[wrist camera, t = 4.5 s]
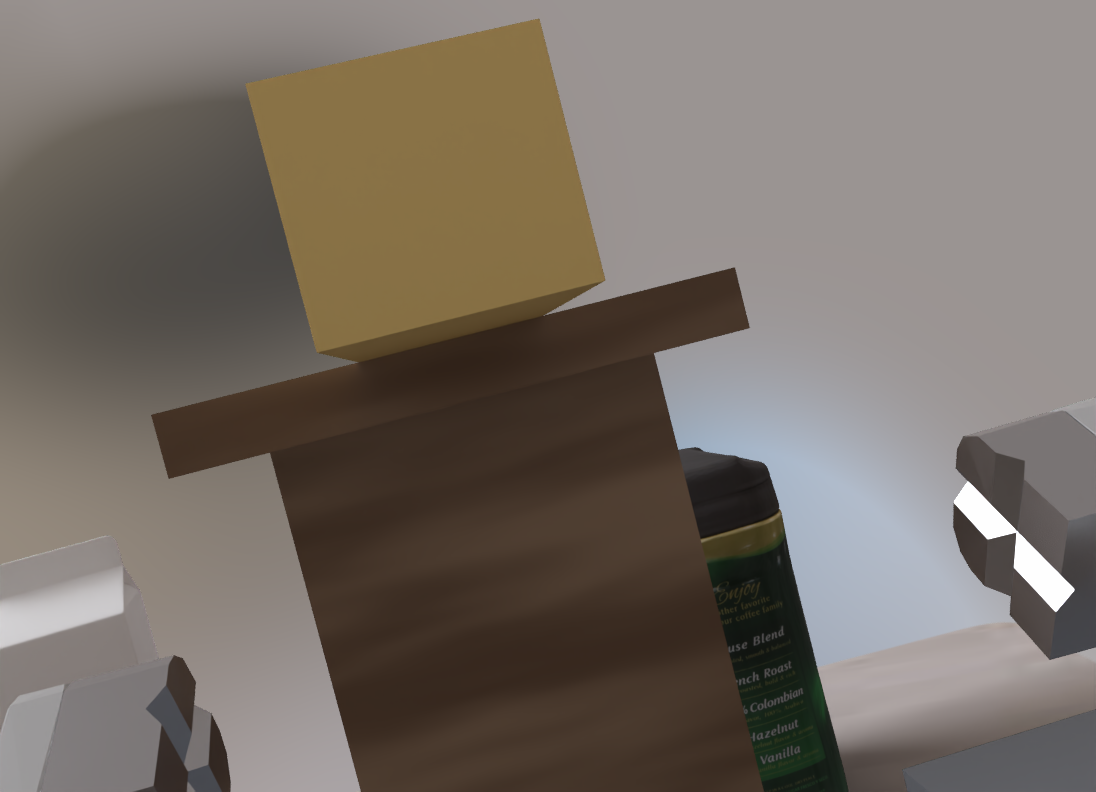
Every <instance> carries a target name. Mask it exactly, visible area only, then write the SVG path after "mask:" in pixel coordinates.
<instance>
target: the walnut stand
mask: <svg viewBox="0 0 1096 792" xmlns="http://www.w3.org/2000/svg"><path fill="white" fill-rule="evenodd" d="M748 328H749V323H748V319H747V315H746V311H745V307H744V303H743V299H742V295H741V291H740V287H739V283H738V278H737V274H736V270H735V268H731V269H727V270H723V271H719V272H715V273H711V274H707V275H703V276H699V277H695V278H691V279H687V280H683V281H679V282H675V283H671V284H667V285H663V286H659V287H655V288H651V289H648V290H644V291H640V292H636V293H632V294H628V295H624V296H620V297H616V298H612V299H608V300H604V301H600V302H596V303H592V304H588V305H584V306H580V307H576V308H572V309H569V310H564V311H560V312H556V313H552V314H549V315H545V316H541V317H537V318H533V319H529V320H525V321H521V322H517V323H513V324H509V325H505V326H501V327H497V328H493V329H489V330H485V331H481V332H477V333H473V334H469V335H465V336H462V337H458V338H454V339H450V340H446V341H442V342H438V343H434V344H430V345H426V346H422V347H418V348H414V349H410V350H406V351H402V352H398V353H394V354H390V355H386V356H382V357H378V358H374V359H370V360H367V361H363V362H359V363H355V364H351V365H347V366H343V367H339V368H335V369H331V370H327V371H323V372H319V373H315V374H311V375H307V376H303V377H299V378H296V379H291V380H287V381H284V382H280V383H276V384H271V385H268V386H264V387H260V388H256V389H252V390H248V391H244V392H240V393H236V394H232V395H228V396H224V397H220V398H216V399H212V400H208V401H204V402H200V403H196V404H192V405H188V406H185V407H181V408H177V409H173V410H169V411H165V412H161V413H157V414H153V415H151V416H152V419H153V423H154V427H155V430H156V434H157V438H158V441H159V445H160V449H161V452H162V455H163V460H164V463H165V467H166V471H167V474H168V478H169V479H170V478H174V477H177V476H181V475H185V474H189V473H193V472H197V471H200V470H204V469H208V468H212V467H216V466H219V465H224V464H227V463H231V462H235V461H239V460H243V459H247V458H250V457H254V456H258V455H262V454H266V453H270V454H271V458H272V462H273V466H274V469H275V473H276V477H277V480H278V484H279V488H280V491H281V495H282V499H283V503H284V506H285V510H286V514H287V517H288V521H289V525H290V529H291V533H292V536H293V540H294V544H295V547H296V551H297V555H298V559H299V562H300V566H301V570H302V574H303V577H304V581H305V584H306V588H307V592H308V596H309V600H310V603H311V607H312V611H313V614H314V618H315V621H316V625H317V629H318V633H319V637H320V640H321V644H322V648H323V652H324V655H325V659H326V663H327V666H328V670H329V674H330V678H331V681H332V685H333V689H334V693H335V696H336V700H337V704H338V707H339V711H340V715H341V718H342V722H343V726H344V730H345V734H346V737H347V741H348V745H349V748H350V752H351V756H352V759H353V763H354V767H355V771H356V774H357V778H358V782H359V786H360V789H361V792H764V790H763V786H762V782H761V778H760V774H759V770H758V766H757V762H756V758H755V754H754V750H753V746H752V742H751V738H750V734H749V730H748V726H747V722H746V718H745V714H744V710H743V706H742V702H741V698H740V694H739V690H738V686H737V682H736V678H735V674H734V670H733V666H732V662H731V658H730V654H729V650H728V647H727V643H726V639H725V635H724V631H723V627H722V623H721V619H720V615H719V611H718V607H717V603H716V599H715V595H714V591H713V587H712V583H711V579H710V575H709V571H708V567H707V563H706V559H705V555H704V551H703V547H702V543H701V539H700V535H699V531H698V527H697V523H696V519H695V515H694V511H693V507H692V503H691V499H690V495H689V491H688V487H687V483H686V479H685V475H684V471H683V467H682V463H681V459H680V455H679V451H678V447H677V443H676V440H675V436H674V432H673V428H672V424H671V420H670V416H669V412H668V408H667V404H666V400H665V396H664V392H663V388H662V384H661V380H660V376H659V372H658V368H657V364H656V360H655V356H654V353H655V352H659V351H663V350H667V349H671V348H675V347H679V346H682V345H686V344H690V343H694V342H698V341H702V340H706V339H709V338H713V337H717V336H721V335H725V334H729V333H733V332H736V331H740V330H744V329H748Z"/></svg>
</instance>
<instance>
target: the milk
mask: <svg viewBox="0 0 1096 792" xmlns="http://www.w3.org/2000/svg"><path fill="white" fill-rule="evenodd" d="M158 659H159V656H158V653H157V649H156V646H155V642H154V638H153V635H152V631H151V627H150V624H149V620H148V617H147V613H146V610H145V606H144V602H143V598H142V595H141V592H140V589H139V588H138V586H137V585H136V584H135V582H134V580H133V579H132V577H131V576H130V574H129V573H128V571H127V570H126V568H125V567H124V565H123V562H122V558H121V555H120V551H119V547H118V544H117V541H116V539H115V538H114V537H112V536H103V537H99V538H96V539H92V540H88V541H85V542H81V543H78V544H74V545H70V546H67V547H63V548H59V549H56V550H53V551H48V552H45V553H41V554H37V555H34V556H30V557H26V558H23V559H19V560H15V561H12V562H8V563H5V564H1V565H0V733H1V730H2V726H3V723H4V720H5V716H6V713H7V710H8V708H9V706H10V705H11V704H12V703H13V702H14V701H15V700H16V698H17V697H18V696H20V695H24V694H28V693H32V692H36V691H40V690H43V689H47V688H51V687H55V686H59V685H63V684H68V683H71V682H72V681H75V680H79V679H83V678H87V677H91V676H95V675H99V674H103V673H107V672H110V671H114V670H118V669H122V668H126V667H130V666H134V665H138V664H142V663H146V662H150V661H154V660H158Z"/></svg>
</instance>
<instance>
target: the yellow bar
mask: <svg viewBox="0 0 1096 792" xmlns="http://www.w3.org/2000/svg"><path fill="white" fill-rule="evenodd" d="M246 88H247V91H248V95H249V99H250V103H251V106H252V110H253V114H254V118H255V121H256V125H257V128H258V133H259V136H260V140H261V144H262V148H263V152H264V155H265V159H266V163H267V167H268V170H269V174H270V178H271V182H272V185H273V189H274V193H275V196H276V201H277V204H278V208H279V212H280V216H281V219H282V223H283V227H284V231H285V234H286V238H287V242H288V246H289V249H290V253H291V257H292V261H293V265H294V268H295V272H296V276H297V280H298V283H299V287H300V291H301V295H302V298H303V302H304V306H305V310H306V313H307V317H308V321H309V325H310V329H311V332H312V336H313V340H314V344H315V347H316V351H317V353H321V354H325V355H329V356H333V357H338V358H342V359H347V360H351V361H355V362H363V361H367V360H370V359H374V358H378V357H382V356H386V355H390V354H394V353H398V352H402V351H406V350H410V349H414V348H418V347H422V346H426V345H430V344H434V343H438V342H442V341H446V340H450V339H454V338H458V337H462V336H465V335H469V334H473V333H477V332H481V331H485V330H489V329H493V328H497V327H501V326H505V325H509V324H513V323H517V322H521V321H525V320H529V319H533V318H537V317H541V316H543V315H545V314H547V313H549V312H550V311H552V310H554V309H556V308H557V307H559V306H561V305H563V304H564V303H566V302H568V301H570V300H572V299H573V298H575V297H577V296H579V295H580V294H582V293H584V292H586V291H588V290H589V289H591V288H593V287H594V286H596V285H598V284H600V283H602V282H603V281H605V277H604V273H603V269H602V265H601V261H600V257H599V253H598V249H597V245H596V241H595V237H594V233H593V229H592V225H591V221H590V217H589V214H588V209H587V205H586V201H585V198H584V194H583V189H582V185H581V182H580V178H579V174H578V170H577V166H576V162H575V158H574V154H573V150H572V146H571V142H570V138H569V134H568V130H567V126H566V122H565V118H564V114H563V110H562V107H561V103H560V98H559V94H558V90H557V86H556V83H555V79H554V75H553V71H552V67H551V63H550V59H549V55H548V51H547V47H546V43H545V39H544V35H543V31H542V27H541V23H540V19H535V20H530V21H526V22H521V23H517V24H512V25H508V26H504V27H499V28H495V29H490V30H486V31H481V32H476V33H472V34H467V35H464V36H458V37H454V38H449V39H445V40H440V41H436V42H431V43H427V44H422V45H418V46H414V47H409V48H405V49H400V50H396V51H391V52H386V53H382V54H377V55H373V56H368V57H364V58H359V59H355V60H350V61H346V62H342V63H337V64H332V65H328V66H323V67H319V68H315V69H310V70H305V71H301V72H297V73H292V74H287V75H283V76H278V77H274V78H269V79H265V80H260V81H256V82H251V83H247V84H246Z"/></svg>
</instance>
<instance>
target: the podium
mask: <svg viewBox="0 0 1096 792" xmlns="http://www.w3.org/2000/svg"><path fill="white" fill-rule="evenodd" d="M902 771H903V775H904V779H905V783H906V787H907V791H908V792H1096V709H1095V710H1092V711H1089V712H1086V713H1083V714H1079V715H1076V716H1073V717H1070V718H1066V719H1063V720H1060V721H1057V722H1054V723H1050V724H1047V725H1044V726H1041V727H1037V728H1034V729H1031V730H1028V731H1025V732H1021V733H1018V734H1015V735H1012V736H1008V737H1005V738H1002V739H999V740H996V741H992V742H989V743H986V744H983V745H979V746H976V747H973V748H970V749H967V750H963V751H960V752H957V753H954V754H951V755H947V756H944V757H941V758H938V759H934V760H931V761H928V762H925V763H922V764H918V765H915V766H912V767H909V768H905V769H902Z"/></svg>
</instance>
